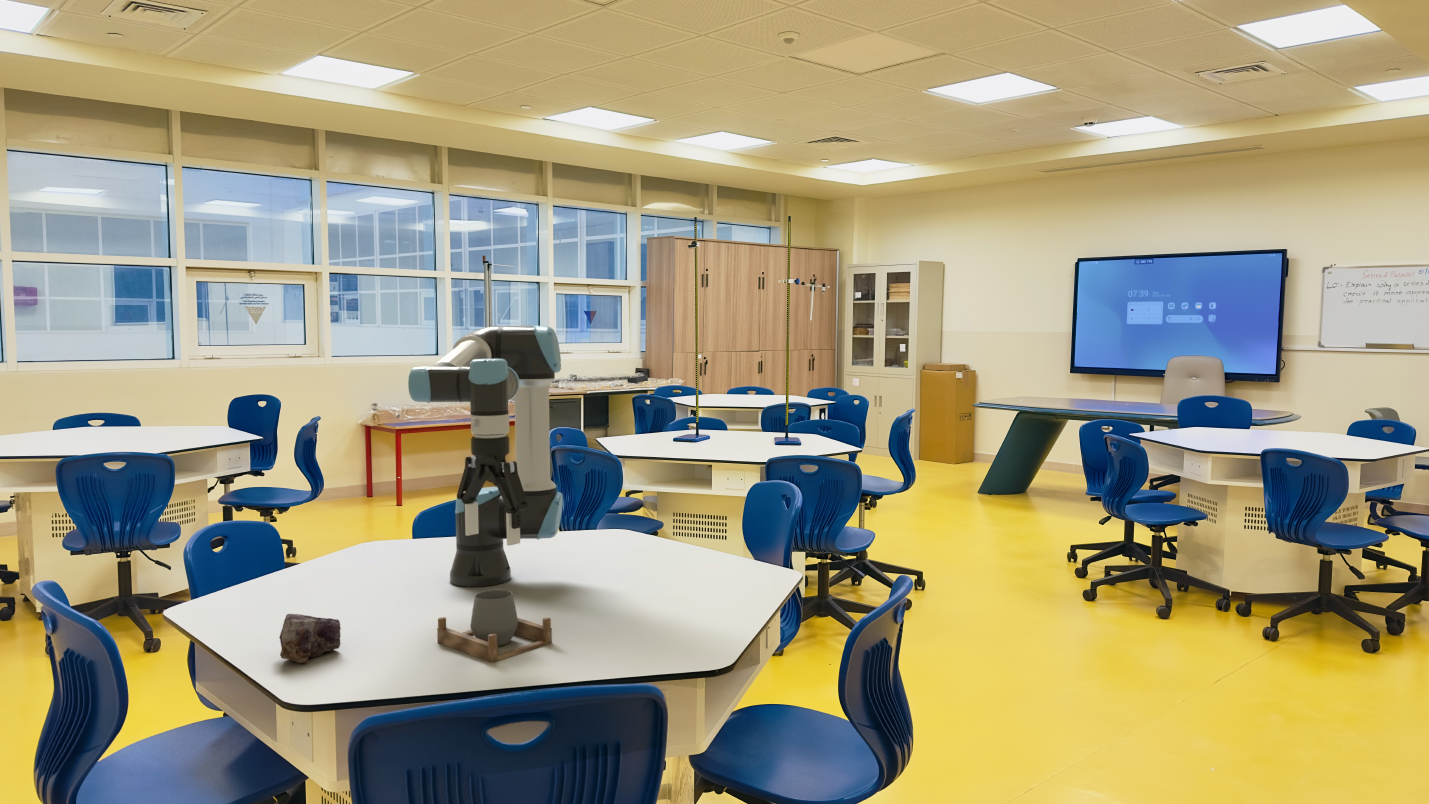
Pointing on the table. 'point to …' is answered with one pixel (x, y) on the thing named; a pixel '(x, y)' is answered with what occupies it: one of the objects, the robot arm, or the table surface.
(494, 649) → the frame
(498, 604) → the cup
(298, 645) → the rock
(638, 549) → the table surface
